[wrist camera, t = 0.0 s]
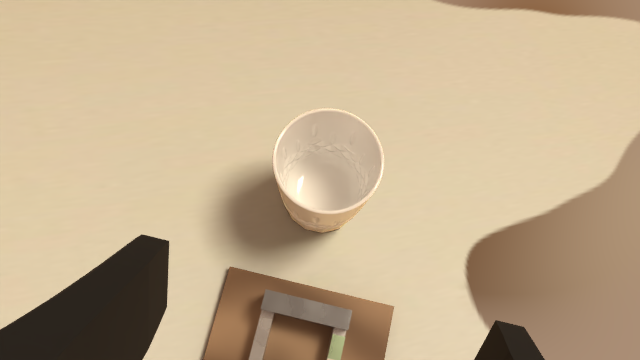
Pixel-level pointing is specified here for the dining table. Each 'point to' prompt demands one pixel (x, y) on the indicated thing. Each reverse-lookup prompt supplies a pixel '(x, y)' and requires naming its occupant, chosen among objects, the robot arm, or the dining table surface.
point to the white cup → (326, 167)
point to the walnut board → (292, 323)
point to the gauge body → (302, 311)
